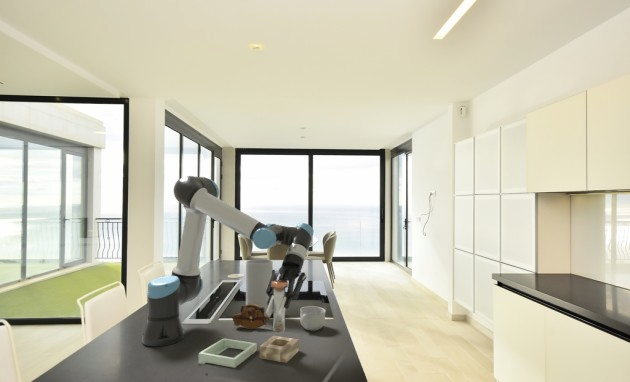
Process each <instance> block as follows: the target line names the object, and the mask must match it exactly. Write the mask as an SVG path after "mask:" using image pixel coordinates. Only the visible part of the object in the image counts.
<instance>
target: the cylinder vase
mask: <svg viewBox="0 0 630 382" xmlns="http://www.w3.org/2000/svg"><path fill="white" fill-rule="evenodd" d="M273 261H274V260H271V259H265V258H263V259H261V258H258V259H249V260H246V261H245V306H246V305H248V304H256V305H259V306H261V307H264V309H265V312H264V315H265V316H268V315H267V314H266V310H267V308H268V305H267V302H268V299H269V296H268V295H267V293H266V290H267V287H268V285H269V282H270V279H271V276H272V270H274V268H273ZM272 314H273V311H272V313H271V315H272ZM268 317H269V316H268Z"/></svg>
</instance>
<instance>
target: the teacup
mask: <svg viewBox="0 0 630 382" xmlns="http://www.w3.org/2000/svg"><path fill="white" fill-rule="evenodd" d="M299 311H300V313H299V314H300V315H299V322H300V325H301V326H302V327H303V328H304V330H307V331H311V332H312V331H313V332H315V331H318V330H321V328H323V327H324V325H325V321H326V312H327V310H326V309H325V308H323V307H321V306H315V305H307V306H303V307H301V308H299Z"/></svg>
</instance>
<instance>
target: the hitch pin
mask: <svg viewBox="0 0 630 382" xmlns="http://www.w3.org/2000/svg"><path fill="white" fill-rule="evenodd" d="M288 283H289V281H285V280H278V279H277V280H275V281H272V282H271V287H272V288H274V306H273V313H272V314H273V321H272V323H273V324H272V326H273V327H272V330H273V332H274V333H283V332H285V331H286V326H285V325H286V312H285V313H284V316H283V318H280V316H279V315H278V313H279V310H280V307H281V304H282V302H283V299H284V297H286V288H287V289H288Z"/></svg>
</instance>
